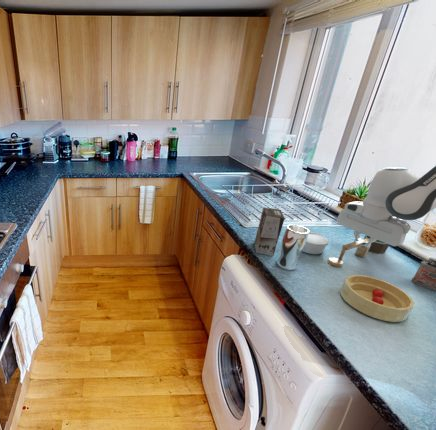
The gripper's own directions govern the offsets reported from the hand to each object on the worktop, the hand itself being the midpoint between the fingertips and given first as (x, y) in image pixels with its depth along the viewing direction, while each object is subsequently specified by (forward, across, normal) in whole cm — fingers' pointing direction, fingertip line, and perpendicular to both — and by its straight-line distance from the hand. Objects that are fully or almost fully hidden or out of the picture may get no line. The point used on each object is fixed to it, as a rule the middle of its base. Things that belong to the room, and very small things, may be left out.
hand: (361, 244), depth 108 cm
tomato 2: (+4, -19, +25) cm, 32 cm away
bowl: (+5, -18, +25) cm, 31 cm away
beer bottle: (+6, +1, -13) cm, 14 cm away
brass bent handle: (+5, 0, +6) cm, 8 cm away
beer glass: (+6, +6, +31) cm, 32 cm away
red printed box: (+6, -20, -3) cm, 21 cm away
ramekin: (+6, +11, +12) cm, 17 cm away
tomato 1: (+4, -17, +21) cm, 27 cm away
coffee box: (+6, +17, +29) cm, 35 cm away
